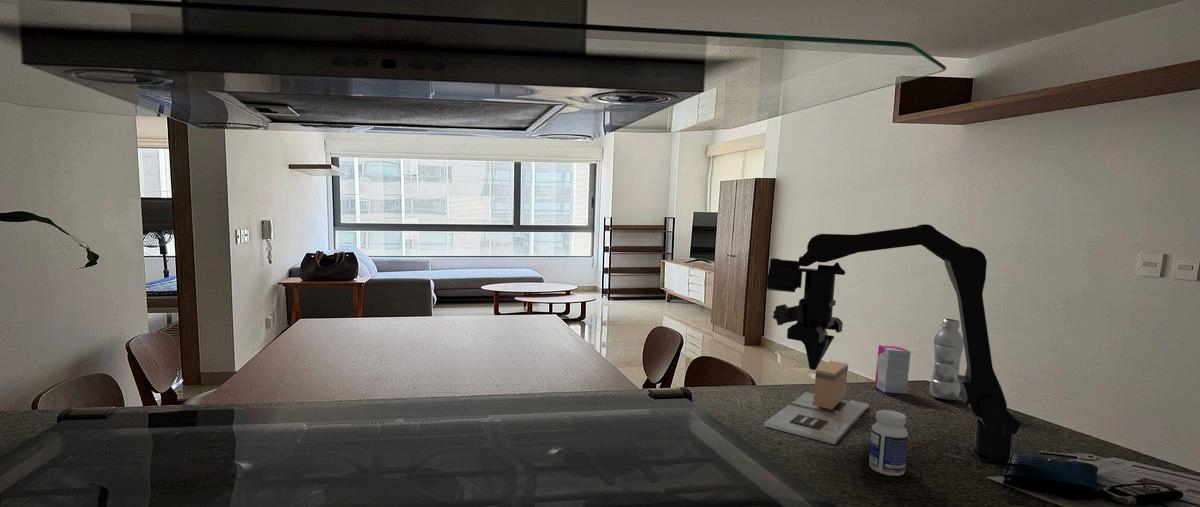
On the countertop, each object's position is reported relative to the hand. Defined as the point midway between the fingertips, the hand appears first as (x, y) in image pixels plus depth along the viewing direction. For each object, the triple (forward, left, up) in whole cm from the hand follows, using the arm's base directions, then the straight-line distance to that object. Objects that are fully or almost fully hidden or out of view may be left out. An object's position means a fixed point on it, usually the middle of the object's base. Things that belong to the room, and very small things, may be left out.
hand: (812, 369), depth 121 cm
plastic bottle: (+31, -38, -12) cm, 51 cm away
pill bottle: (-19, -10, -12) cm, 24 cm away
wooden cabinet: (+14, -7, -11) cm, 19 cm away
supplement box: (+33, -26, -12) cm, 44 cm away
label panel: (+7, -4, -12) cm, 14 cm away
